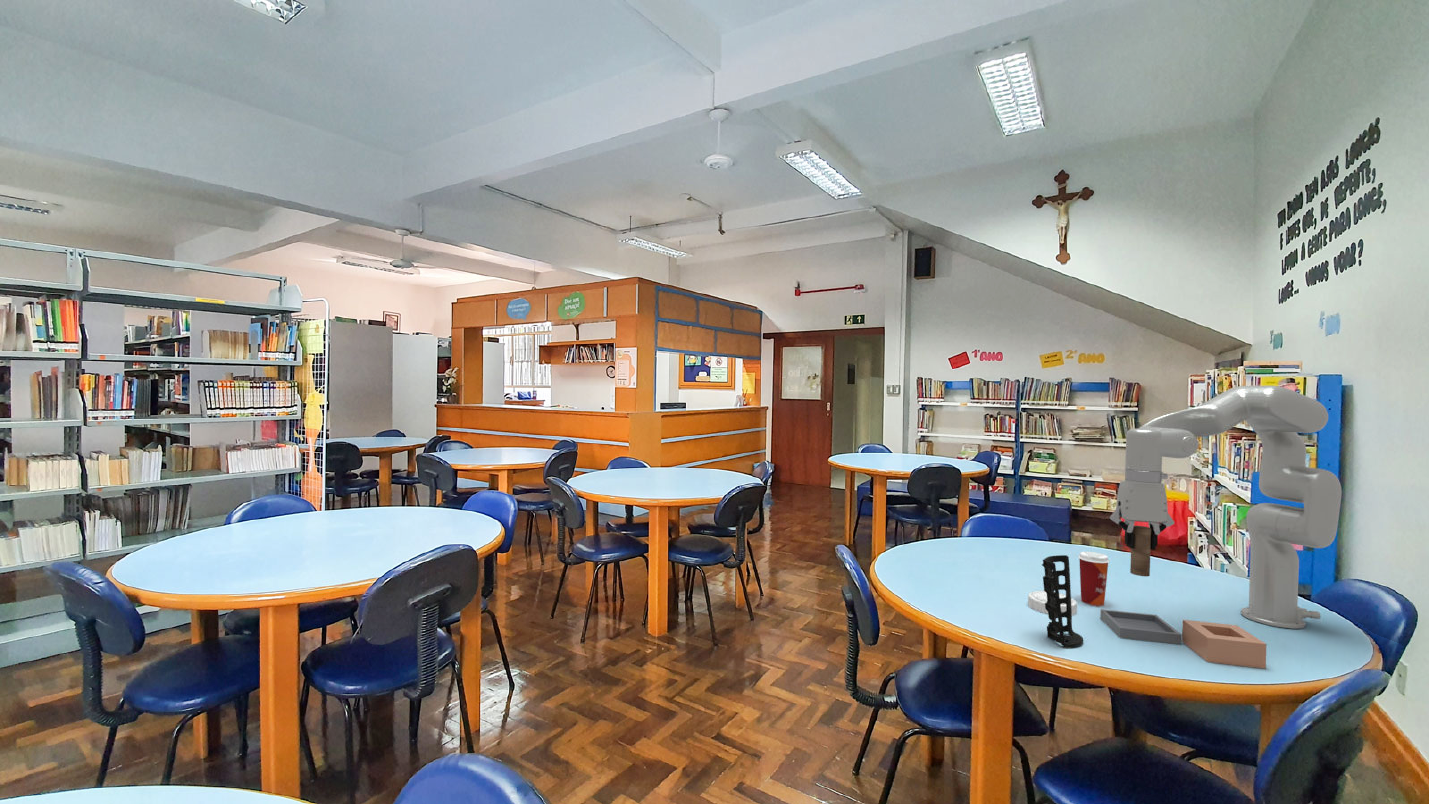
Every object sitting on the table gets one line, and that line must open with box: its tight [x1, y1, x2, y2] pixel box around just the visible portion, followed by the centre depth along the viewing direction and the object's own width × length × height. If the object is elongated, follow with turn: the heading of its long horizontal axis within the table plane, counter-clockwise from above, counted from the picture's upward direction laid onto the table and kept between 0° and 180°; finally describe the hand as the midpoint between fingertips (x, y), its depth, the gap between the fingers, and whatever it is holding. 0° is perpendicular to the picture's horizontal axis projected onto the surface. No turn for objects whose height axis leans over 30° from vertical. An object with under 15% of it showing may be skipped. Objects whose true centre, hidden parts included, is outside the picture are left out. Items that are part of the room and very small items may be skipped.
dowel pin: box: [1129, 525, 1152, 577], centre depth 148 cm, size 4×4×12 cm
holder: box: [1041, 554, 1084, 649], centre depth 142 cm, size 11×8×20 cm
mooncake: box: [1027, 590, 1078, 616], centre depth 163 cm, size 12×12×4 cm
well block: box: [1181, 619, 1267, 670], centre depth 135 cm, size 11×11×6 cm
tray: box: [1099, 609, 1183, 646], centre depth 148 cm, size 13×13×2 cm
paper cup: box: [1077, 551, 1110, 607], centre depth 169 cm, size 8×8×14 cm
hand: (1140, 547), depth 148 cm, fingers closed on dowel pin, 4 cm apart
